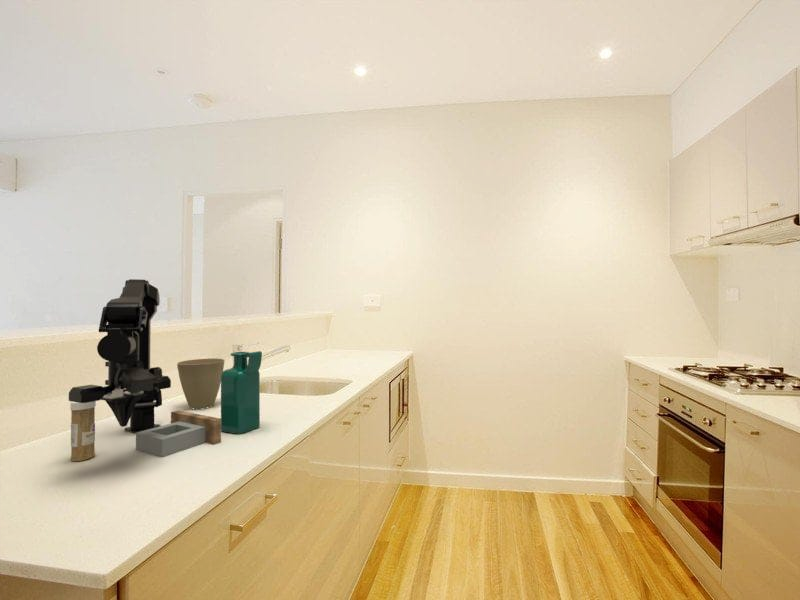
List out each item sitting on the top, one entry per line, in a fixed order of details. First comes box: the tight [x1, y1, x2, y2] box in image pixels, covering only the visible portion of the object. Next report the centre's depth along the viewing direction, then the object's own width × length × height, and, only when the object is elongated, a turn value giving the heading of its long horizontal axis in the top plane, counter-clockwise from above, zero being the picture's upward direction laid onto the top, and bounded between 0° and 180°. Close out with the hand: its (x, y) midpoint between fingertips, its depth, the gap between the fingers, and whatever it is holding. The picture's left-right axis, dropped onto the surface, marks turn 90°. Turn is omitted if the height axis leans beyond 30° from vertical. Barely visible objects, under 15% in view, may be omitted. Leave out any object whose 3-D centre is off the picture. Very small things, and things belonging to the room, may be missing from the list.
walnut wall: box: [170, 410, 222, 445], centre depth 105 cm, size 18×2×6 cm, turn 62°
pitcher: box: [220, 350, 263, 435], centre depth 113 cm, size 10×8×22 cm
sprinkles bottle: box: [69, 401, 97, 462], centre depth 92 cm, size 5×5×13 cm
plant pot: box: [176, 357, 225, 410], centre depth 138 cm, size 15×15×16 cm
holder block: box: [135, 421, 206, 458], centre depth 99 cm, size 11×11×4 cm
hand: (123, 426), depth 90 cm, fingers closed
